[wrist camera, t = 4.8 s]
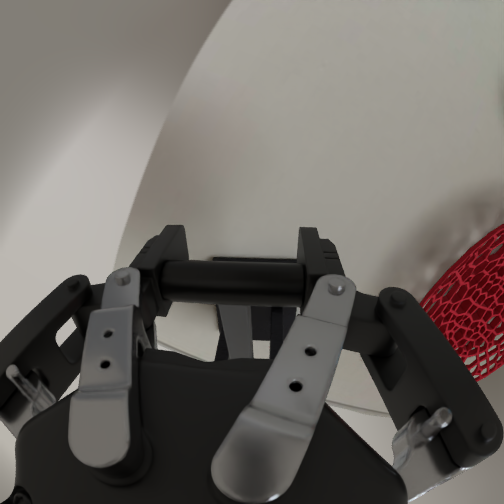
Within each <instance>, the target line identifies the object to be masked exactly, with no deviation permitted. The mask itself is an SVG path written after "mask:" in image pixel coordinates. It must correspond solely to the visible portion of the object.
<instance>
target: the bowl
mask: <svg viewBox="0 0 504 504" xmlns="http://www.w3.org/2000/svg"><path fill="white" fill-rule="evenodd" d="M499 236H500V238H499V239H498V240H497V241H495V240H496V239H497V237H499ZM486 241H487V242H486ZM494 241H495V242H494ZM485 242H486V244H485V245H484V246H482V245H483V244H484V243H485ZM501 243H503V246H502V247H501V248H500V249H499V250H498V251H497V252H496V253H494V254H492V255H489V254H490V253H491V251H492V250H493V249H494V248H496V247H497V246H499V245H500V244H501ZM481 246H482V247H481ZM483 252H484V253H483ZM482 253H483V254H482ZM481 254H482V255H481ZM479 255H481V256H480V257H479V258H477V257H478V256H479ZM476 258H477V259H476ZM449 275H450V277H448V276H449ZM453 283H455V284H454V285H453V286H452V288H451V289H450V291H449V292H448V293H447V295H446V296H444V297H443V295H444V294H445V293H446V291H447V290H448V289H449V287H450V286H451V285H452V284H453ZM460 286H461V287H460ZM442 288H443V289H442ZM440 289H442V290H441V291H440V292H439V293H438V291H439V290H440ZM458 289H459V290H458ZM457 291H458V292H457ZM456 292H457V293H456ZM437 293H438V294H437ZM430 298H431V299H430ZM429 299H430V300H429ZM428 300H429V302H428V303H427V304H426V302H427V301H428ZM436 301H437V302H436ZM462 301H463V302H462ZM434 302H436V303H435V304H434V306H433V307H432V308H431V309H430V311H429V312H428V313H427V314H428V316H429V317H430V318H431V319H432V321H434V320H435V319H436V321H435V322H434V323H435V324H436V326H437V327H438V328H439V327H440V328H439V330H440V331H441V332H442V334H443V335H444V336H445V338H446V339H447V340H448V339H449V340H448V342H449V343H450V344H451V346H452V347H453V348H454V350H455V349H456V348H458V347H459V348H458V350H455V351H456V353H457V354H458V355H459V356H461V360H462V361H463V363H464V362H465V360H466V359H467V357H471V356H475V355H476V360H475V361H473V362H472V363H471V364H470V365H466V367H467V368H468V370H469V371H470V369H471V368H473V367H474V366H475V365H477V367H476V368H475V370H474V372H472V373H471V374H472V376H474V375H479V376H478V377H476V378H475V380H476V382H477V381H479V380H481V379H483V378H485V377H486V376H488V375H489V374H491V373H492V372H494V371H495V370H497V369H498V368H499V367H501V366H502V365H503V364H504V350H503V351H500V350H502V349H504V343H503V344H502V345H500V344H501V343H502V342H503V341H504V335H503V336H502V337H501V338H500V339H498V340H494V339H495V337H496V335H499V334H501V333H503V334H504V224H502V225H500V226H499V227H497V228H496V229H494V230H493V231H491V232H489V233H488V234H487V235H486V236H485V237H483V238H482V239H481V240H480V241H479V242H477V243H476V244H475V245H474V246H472V247H471V248H470V249H469V250H468V251H467V252H466V253H465V254H464V255H463V256H462V257H461V258H460V259H459V260H458V261H457V262H456V263H455V264H454V265H453V266H451V267H450V268H449V269H448V270H447V271H446V273H445V274H444V275H443V276H442V277H441V278H440V279H439V281H438V282H437V283H436V284H435V285H434V286H433V287H432V288H431V289H430V291H429V292H428V293H427V295H426V296H425V297H424V299H423V300H422V301H421V303H420V306H421V307H422V308H423V306H424V305H425V304H426V306H425V307H424V308H423V309H424V311H425V312H427V311H428V309H429V308H430V307H431V305H432V304H433V303H434ZM461 302H462V303H461ZM460 303H461V304H460ZM477 309H478V310H477ZM476 310H477V311H476ZM475 311H476V312H475ZM494 316H496V317H495V318H494V319H493V320H492V321H491V323H490V324H487V322H488V321H489V320H490V319H491V318H492V317H494ZM501 322H502V324H501V327H498V325H499V324H500V323H501ZM497 327H498V328H497ZM459 328H460V329H459ZM458 329H459V330H458ZM457 330H458V331H457ZM456 331H457V332H456ZM455 332H456V333H455ZM489 335H490V336H489ZM468 341H469V343H468V344H467V345H465V344H466V343H467V342H468ZM484 341H485V342H484ZM483 342H484V346H482V347H480V345H481V344H482V343H483ZM494 345H497V346H496V348H495V349H493V350H491V351H490V352H488V349H490V348H491V347H492V346H494ZM473 347H475V349H473V350H471V349H472V348H473ZM483 352H485V355H483V356H481V357H479V354H481V353H483ZM495 353H497V354H496V356H495V357H494V359H493V360H491V361H489V357H491V356H492V355H494V354H495ZM501 355H502V357H501V358H500V360H498V361H497V359H498V357H499V356H501ZM485 359H486V364H484V365H483V366H480V362H482V361H484V360H485ZM493 363H495V366H494V367H493V368H492V369H490V370H489V366H490V365H492V364H493ZM485 368H487V372H486V373H484V374H482V375H481V372H482V370H483V369H485ZM478 370H479V371H478Z"/></svg>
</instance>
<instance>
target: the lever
mask: <svg viewBox="0 0 504 504" xmlns="http://www.w3.org/2000/svg"><path fill="white" fill-rule="evenodd" d="M160 289H161V294H162V297H163V298H164V299H165V300H166V301H174V302H187V303H202V304H218V305H219V310H220V315H221V320H222V324H223V329H224V333H225V338H226V342H227V347H228V351H229V356H230V359H236V358H254V357H253V340H252V323H251V306H267V307H302V305H303V302H304V296H305V268H304V265H303V264H302V263H268V262H232V261H200V260H171V259H169V260H166V261H165V262H164V264H163V266H162V269H161V274H160Z"/></svg>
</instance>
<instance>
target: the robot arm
mask: <svg viewBox="0 0 504 504" xmlns="http://www.w3.org/2000/svg"><path fill="white" fill-rule="evenodd" d="M169 259H171V260H189V255H188V248H187V241H186V234H185V228H184V226H183V225H166V227H165V228H164V229H163V231H162V232H161V233H160V235H156V236H154V237H153V238H151V239H150V240H148V241H147V243H146V244H145V245H144V247H143V248H142V249H141V251H140V252H139V253H138V255H137V256H136V257H135V259H134V260H133V262H132V263H131V264H130V266H129V267H126V268H121V269H118V270H116V271H114V272H112V273H111V274H110V275H109V276H108V277H107V280H106V283H102V284H96V285H91V284H90V282H89V279H88V277H87V276H85V275H75V276H72V277H70V278H68V279H66V280H65V281H63V283H61V284H60V285H59V286H58V287H57V288H56V289H54V290H53V291H52V292H51V293H50V294H49V295H48V296H47V297H46V298H45V299H43V300H42V301H41V303H39V304H38V305H37V306H36V307H35V308H34V309H33V310H32V311H31V312H30V313H29V314H28V315H27V316H25V317H24V318H23V320H21V321H20V323H18V325H16V327H14V329H13V330H11V332H10V333H9V334H8V335H7V336H6V337H5V338H4V339H3V340H2V341H1V342H0V421H2V422H3V423H4V425H5V426H6V427H7V428H8V429H9V431H10V432H11V433H12V434H13V435H14V436H15V438H16V445H15V456H16V457H15V458H16V477H15V486H14V489H13V492H12V494H11V495H10V497H9V498H8V499H6V500H5V501H3V502H2V503H0V504H408V502H410V501H412V500H414V499H416V498H417V497H419V496H421V495H423V494H425V493H426V492H428V491H430V490H431V489H433V488H435V487H436V486H438V485H440V484H442V483H444V482H446V481H448V480H450V479H452V478H454V477H456V476H458V475H459V474H461V473H463V472H465V471H467V470H468V469H470V468H472V467H473V466H475V465H477V464H478V463H480V462H481V461H483V460H485V459H486V458H488V457H489V456H491V455H492V454H494V453H495V452H496V451H497V450H498V449H499V447H500V445H501V443H502V440H503V427H502V424H501V421H500V420H499V418H498V416H497V415H496V413H495V411H494V409H493V408H492V406H491V404H490V403H489V401H488V399H487V398H486V396H485V394H484V393H483V391H482V390H481V388H480V387H479V385H478V383H477V382H476V380H475V379H474V377H473V376H472V374H471V373H470V371H469V370H468V368H467V367H466V365H465V364H464V363H463V361H462V360H461V358H460V357H459V355H458V354H457V353H456V351H455V350H454V348H453V347H452V346H451V344H450V343H449V342H448V340H447V339H446V338H445V336H444V335H443V334H442V332H441V331H440V330H439V328H438V327H437V326H436V324H435V323H434V322H433V321H432V319H431V318H430V317H429V316H428V314H427V313H426V312H425V311H424V309H423V308H422V307H421V306H420V304H419V303H418V302H417V301H416V299H415V298H414V297H413V296H412V295H411V294H410V293H409V292H407V291H405V290H403V289H401V288H396V287H388V288H385V289H383V290H382V291H381V292H380V294H379V297H376V296H372V295H367V294H363V293H361V292H358V291H356V285H355V284H354V282H353V281H352V280H350V279H349V278H347V277H345V274H344V271H343V268H342V265H341V262H340V259H339V256H338V253H337V250H336V247H335V245H334V244H333V243H332V242H331V241H330V240H329V239H320V238H319V235H318V231H317V228H313V227H300V228H299V237H298V250H297V263H302V264H303V265H304V268H305V296H304V302H303V305H302V307H300V314H298V315H297V316H296V318H295V320H294V322H293V324H292V326H291V328H290V330H289V332H288V334H287V336H286V338H285V340H284V342H283V344H282V346H281V348H280V350H279V352H278V354H277V355H276V357H275V359H255V358H236V359H229V360H221V361H213V362H203V361H200V360H197V359H194V358H191V357H188V356H185V355H182V354H180V353H177V352H173V351H164V350H158V348H157V333H156V324H155V321H154V320H155V318H156V316H163V317H166V316H167V314H168V311H169V309H170V307H171V304H172V302H173V301H166V300H165V299H164V298H163V297H162V294H161V289H160V274H161V269H162V266H163V264H164V262H165V261H166V260H169ZM71 317H72V319H73V321H74V323H75V325H76V327H77V328H76V329H75V330H74V332H73V333H72V334H71V335H70V336H69V337H68V338H67V339H66V340H65V341H64V343H63V344H62V345H61V346H60V347H59V346H58V345H57V343H56V339H55V337H56V333H57V331H58V330H59V329H60V328H61V327H62V326H63V325H64V324H65V323H66V322H67V321H68V320H69V319H70V318H71ZM342 349H346V350H350V351H354V352H359V353H360V355H361V357H362V359H363V361H364V363H365V365H366V367H367V369H368V371H369V373H370V375H371V377H372V379H373V381H374V383H375V385H376V387H377V389H378V391H379V393H380V395H381V397H382V399H383V401H384V403H385V405H386V407H387V409H388V412H389V414H390V416H391V418H392V420H393V422H394V424H395V426H396V428H397V431H398V432H397V433H396V434H395V436H394V438H393V441H392V450H393V454H394V463H393V466H391V465H390V464H389V463H388V462H387V461H386V460H384V459H383V458H382V457H381V456H380V455H379V454H378V453H377V452H376V451H375V450H374V449H373V448H371V447H370V446H369V445H368V444H367V443H366V442H365V441H364V440H363V439H362V438H361V437H360V436H359V435H358V434H357V433H356V432H355V431H354V430H353V429H352V428H351V427H349V425H348V424H347V423H346V422H345V421H344V420H343V419H341V417H340V416H339V415H337V413H336V412H334V411H333V410H332V408H331V407H330V406H329V405H328V404H327V403H326V402H325V400H326V398H327V395H328V392H329V389H330V386H331V383H332V380H333V377H334V374H335V370H336V367H337V364H338V361H339V357H340V354H341V350H342ZM79 373H80V379H79V386H78V389H77V390H75V391H73V392H72V393H70V394H69V395H67V396H66V397H64V398H63V399H61V400H60V401H58V400H59V399H60V398H61V396H62V395H63V394H64V392H65V391H66V390H67V389H68V387H69V386H70V385H71V383H72V382H73V381H74V379H75V378H76V377H77V376H78V375H79Z"/></svg>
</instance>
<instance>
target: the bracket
mask: <svg viewBox="0 0 504 504" xmlns="http://www.w3.org/2000/svg"><path fill="white" fill-rule="evenodd" d="M212 261H232V262H268V263H297V260H290V259H251V258H216V257H214V258H213V260H212ZM296 309H297V307H267V306H251V323H252V340H263V341H270V355H269V359H275V357H276V355H277V354H278V352H279V350H280V348H281V346H282V344H283V341H284V340H285V338H286V336H287V334H288V332H289V330H290V328H291V326H292V324H293V322H294V320H295V318H296ZM216 310H217V317H218V325H219V332H220V336H219V341H218V346H217V351H216V356H215V361H221V360H229V359H230V356H229V351H228V347H227V342H226V338H225V333H224V329H223V324H222V320H221V315H220V310H219V305H218V304H216Z"/></svg>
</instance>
